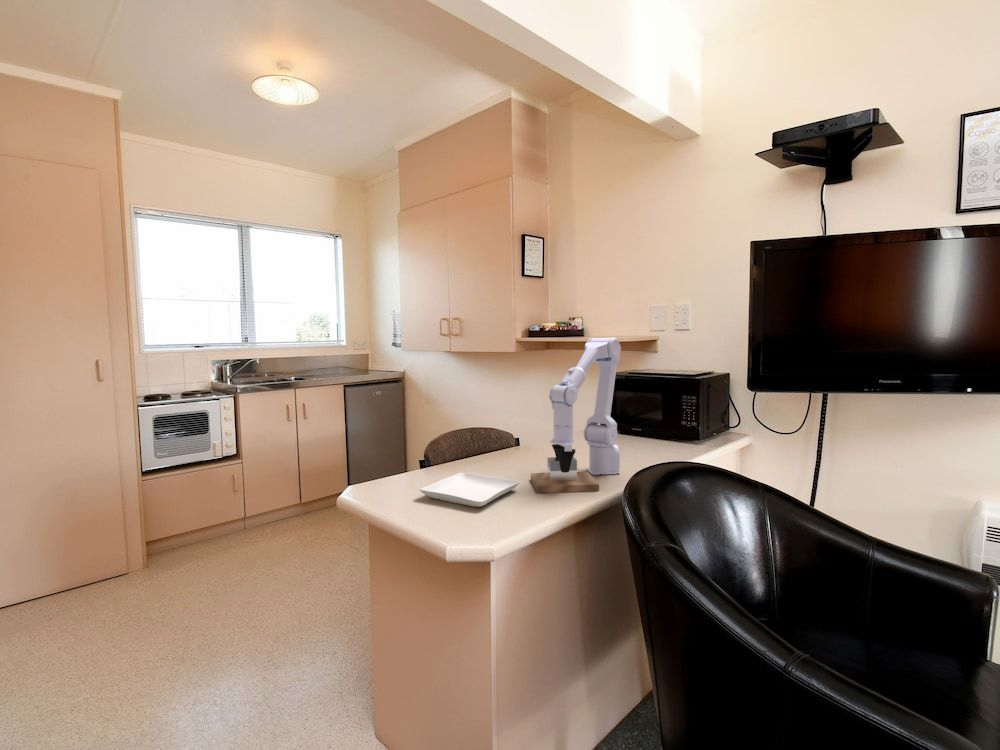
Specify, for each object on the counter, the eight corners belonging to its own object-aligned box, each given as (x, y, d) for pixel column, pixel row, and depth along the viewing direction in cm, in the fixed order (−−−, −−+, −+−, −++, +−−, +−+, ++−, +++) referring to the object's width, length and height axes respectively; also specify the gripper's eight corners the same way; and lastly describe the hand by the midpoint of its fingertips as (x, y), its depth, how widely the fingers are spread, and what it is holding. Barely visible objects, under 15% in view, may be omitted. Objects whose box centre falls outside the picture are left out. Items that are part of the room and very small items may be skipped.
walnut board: (587, 477, 157) (587, 471, 157) (599, 490, 143) (599, 484, 143) (530, 479, 156) (530, 473, 156) (537, 493, 142) (537, 486, 142)
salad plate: (521, 491, 145) (521, 479, 145) (482, 513, 127) (481, 500, 127) (461, 481, 156) (461, 470, 156) (417, 501, 138) (417, 489, 137)
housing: (547, 476, 151) (547, 457, 151) (573, 475, 152) (573, 456, 151) (550, 481, 147) (550, 461, 146) (576, 480, 147) (576, 460, 147)
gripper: (545, 421, 155) (546, 464, 156) (554, 429, 141) (554, 476, 142) (568, 420, 156) (568, 463, 157) (579, 429, 141) (579, 476, 142)
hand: (563, 469), depth 149 cm, fingers closed on housing, 4 cm apart
